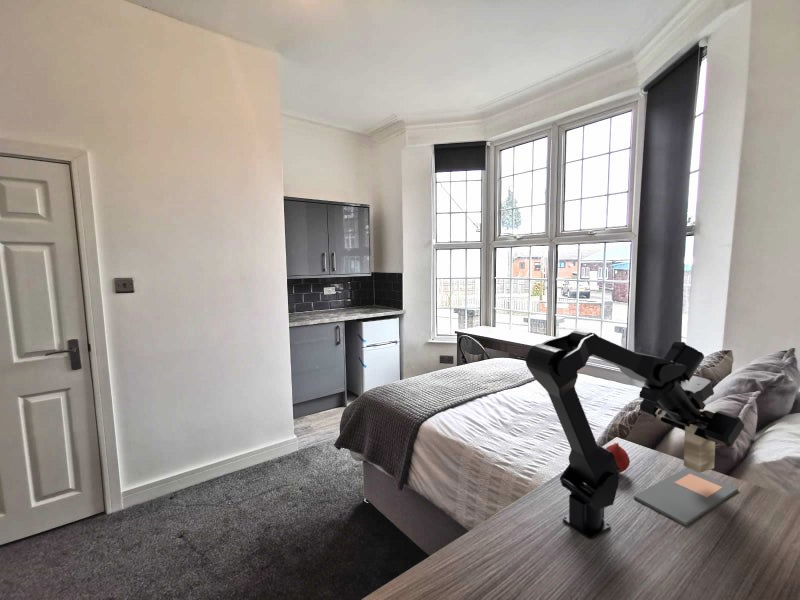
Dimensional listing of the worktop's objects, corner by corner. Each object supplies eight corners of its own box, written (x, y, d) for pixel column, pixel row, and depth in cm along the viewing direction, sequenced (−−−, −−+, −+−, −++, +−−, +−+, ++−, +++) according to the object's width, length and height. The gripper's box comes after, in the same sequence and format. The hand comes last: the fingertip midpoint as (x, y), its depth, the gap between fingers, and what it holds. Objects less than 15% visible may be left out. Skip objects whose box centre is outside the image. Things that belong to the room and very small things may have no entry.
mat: (685, 525, 73) (685, 522, 73) (633, 498, 82) (633, 495, 82) (738, 490, 83) (738, 487, 83) (687, 469, 92) (687, 467, 92)
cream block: (698, 472, 82) (700, 416, 81) (683, 465, 85) (685, 411, 84) (714, 468, 84) (716, 412, 82) (698, 461, 87) (700, 407, 85)
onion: (597, 470, 93) (597, 440, 92) (612, 464, 96) (612, 434, 95) (619, 482, 88) (619, 450, 87) (634, 475, 90) (635, 444, 90)
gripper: (740, 378, 72) (773, 423, 76) (649, 357, 90) (680, 394, 94) (711, 424, 70) (746, 468, 75) (624, 393, 88) (656, 430, 92)
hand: (704, 436), depth 84 cm, fingers closed on cream block, 3 cm apart
